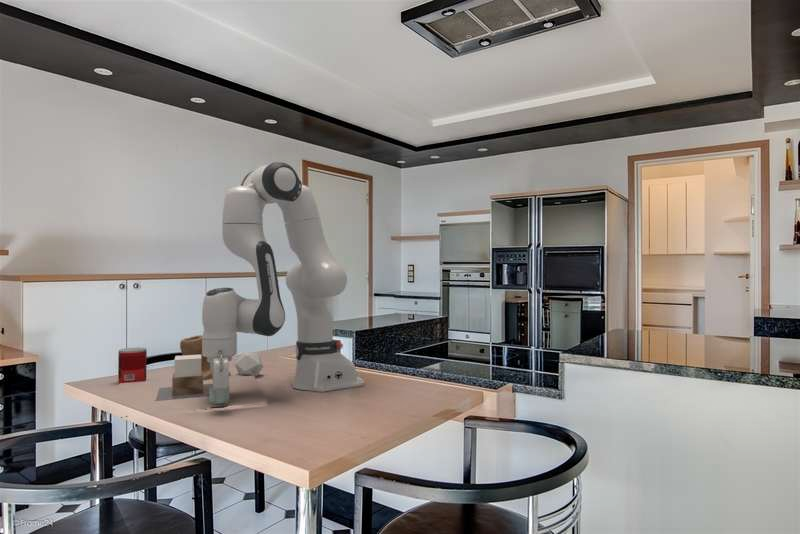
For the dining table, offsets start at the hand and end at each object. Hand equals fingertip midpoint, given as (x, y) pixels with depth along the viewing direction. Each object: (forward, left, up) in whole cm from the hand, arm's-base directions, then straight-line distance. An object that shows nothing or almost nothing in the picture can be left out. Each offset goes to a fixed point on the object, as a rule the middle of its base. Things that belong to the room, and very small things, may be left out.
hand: (219, 399), depth 130 cm
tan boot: (+4, -36, -2) cm, 36 cm away
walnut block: (+8, -15, 0) cm, 17 cm away
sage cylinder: (0, 0, -2) cm, 2 cm away
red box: (+25, -40, -2) cm, 47 cm away
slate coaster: (+8, -15, -2) cm, 17 cm away
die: (-11, -35, -2) cm, 37 cm away
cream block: (+8, -15, +5) cm, 18 cm away
